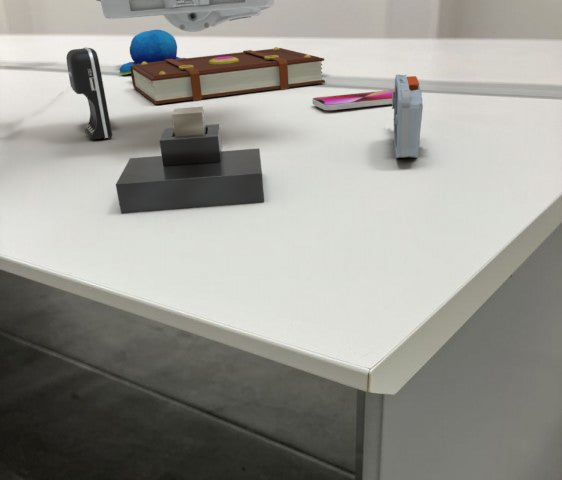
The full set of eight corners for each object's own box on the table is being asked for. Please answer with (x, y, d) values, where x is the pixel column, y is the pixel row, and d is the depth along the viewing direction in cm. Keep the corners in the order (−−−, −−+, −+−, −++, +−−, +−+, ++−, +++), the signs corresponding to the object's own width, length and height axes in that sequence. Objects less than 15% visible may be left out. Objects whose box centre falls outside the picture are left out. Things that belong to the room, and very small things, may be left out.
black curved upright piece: (79, 134, 100) (62, 48, 94) (105, 130, 101) (89, 45, 95) (86, 143, 94) (67, 52, 88) (113, 139, 95) (97, 49, 90)
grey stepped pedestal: (121, 213, 66) (110, 156, 63) (135, 182, 76) (126, 130, 73) (264, 202, 66) (259, 144, 64) (261, 172, 76) (257, 120, 73)
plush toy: (120, 79, 146) (113, 36, 142) (118, 70, 161) (112, 30, 156) (198, 72, 149) (193, 29, 145) (189, 63, 163) (184, 24, 159)
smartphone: (418, 96, 104) (325, 105, 101) (418, 102, 104) (325, 112, 101) (399, 89, 110) (310, 97, 107) (398, 95, 110) (310, 104, 107)
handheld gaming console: (391, 138, 86) (392, 69, 82) (414, 137, 85) (417, 68, 81) (394, 169, 74) (396, 90, 69) (422, 168, 73) (425, 89, 69)
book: (325, 84, 124) (324, 54, 122) (155, 105, 116) (151, 74, 114) (282, 70, 143) (280, 44, 140) (133, 88, 135) (128, 60, 132)
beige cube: (175, 140, 69) (171, 114, 68) (177, 134, 72) (174, 108, 71) (204, 138, 69) (201, 111, 68) (205, 131, 72) (203, 106, 71)
